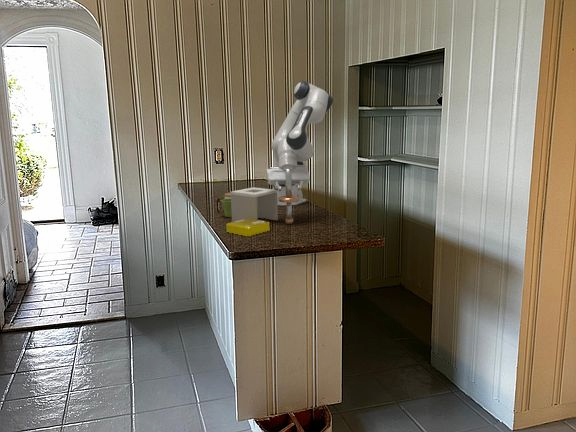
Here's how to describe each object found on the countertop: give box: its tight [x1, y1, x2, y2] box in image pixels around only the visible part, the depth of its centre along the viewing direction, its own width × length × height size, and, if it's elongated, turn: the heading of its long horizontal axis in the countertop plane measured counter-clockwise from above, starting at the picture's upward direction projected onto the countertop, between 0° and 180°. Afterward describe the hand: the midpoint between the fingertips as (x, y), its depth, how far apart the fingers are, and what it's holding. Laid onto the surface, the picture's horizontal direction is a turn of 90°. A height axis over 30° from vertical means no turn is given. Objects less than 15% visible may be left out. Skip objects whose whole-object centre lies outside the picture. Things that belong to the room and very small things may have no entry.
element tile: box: [225, 218, 271, 237], centre depth 236 cm, size 15×15×5 cm
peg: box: [279, 169, 299, 225], centre depth 248 cm, size 10×10×26 cm
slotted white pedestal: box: [230, 187, 279, 222], centre depth 255 cm, size 16×16×15 cm
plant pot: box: [220, 198, 232, 218], centre depth 268 cm, size 9×9×9 cm
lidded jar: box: [223, 191, 232, 199], centre depth 292 cm, size 11×11×9 cm
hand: (289, 190), depth 247 cm, fingers open, 8 cm apart
